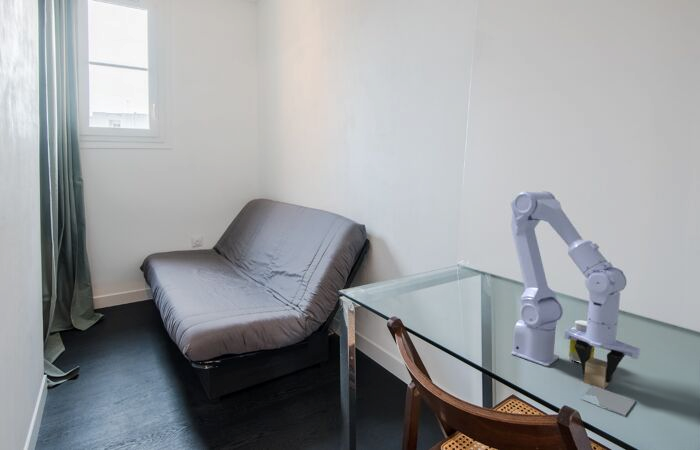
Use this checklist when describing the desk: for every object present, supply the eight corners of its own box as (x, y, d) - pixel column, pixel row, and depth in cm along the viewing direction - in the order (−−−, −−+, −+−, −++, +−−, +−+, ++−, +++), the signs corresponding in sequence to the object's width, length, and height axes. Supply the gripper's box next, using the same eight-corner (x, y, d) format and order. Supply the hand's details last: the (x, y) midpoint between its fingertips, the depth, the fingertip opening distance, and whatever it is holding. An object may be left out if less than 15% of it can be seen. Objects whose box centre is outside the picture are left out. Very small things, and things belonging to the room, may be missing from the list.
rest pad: (580, 399, 82) (580, 397, 82) (592, 386, 87) (592, 385, 87) (625, 416, 76) (625, 415, 76) (635, 401, 81) (635, 400, 81)
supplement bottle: (586, 367, 97) (590, 328, 95) (564, 358, 101) (567, 321, 100) (597, 362, 100) (600, 324, 99) (575, 353, 104) (578, 317, 103)
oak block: (583, 382, 89) (585, 362, 89) (589, 376, 92) (591, 357, 91) (603, 389, 86) (605, 368, 86) (609, 383, 89) (611, 363, 88)
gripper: (561, 315, 90) (556, 370, 92) (636, 334, 79) (629, 396, 81) (572, 309, 95) (568, 361, 96) (644, 326, 84) (638, 385, 86)
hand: (596, 377), depth 89 cm, fingers closed on oak block, 4 cm apart
